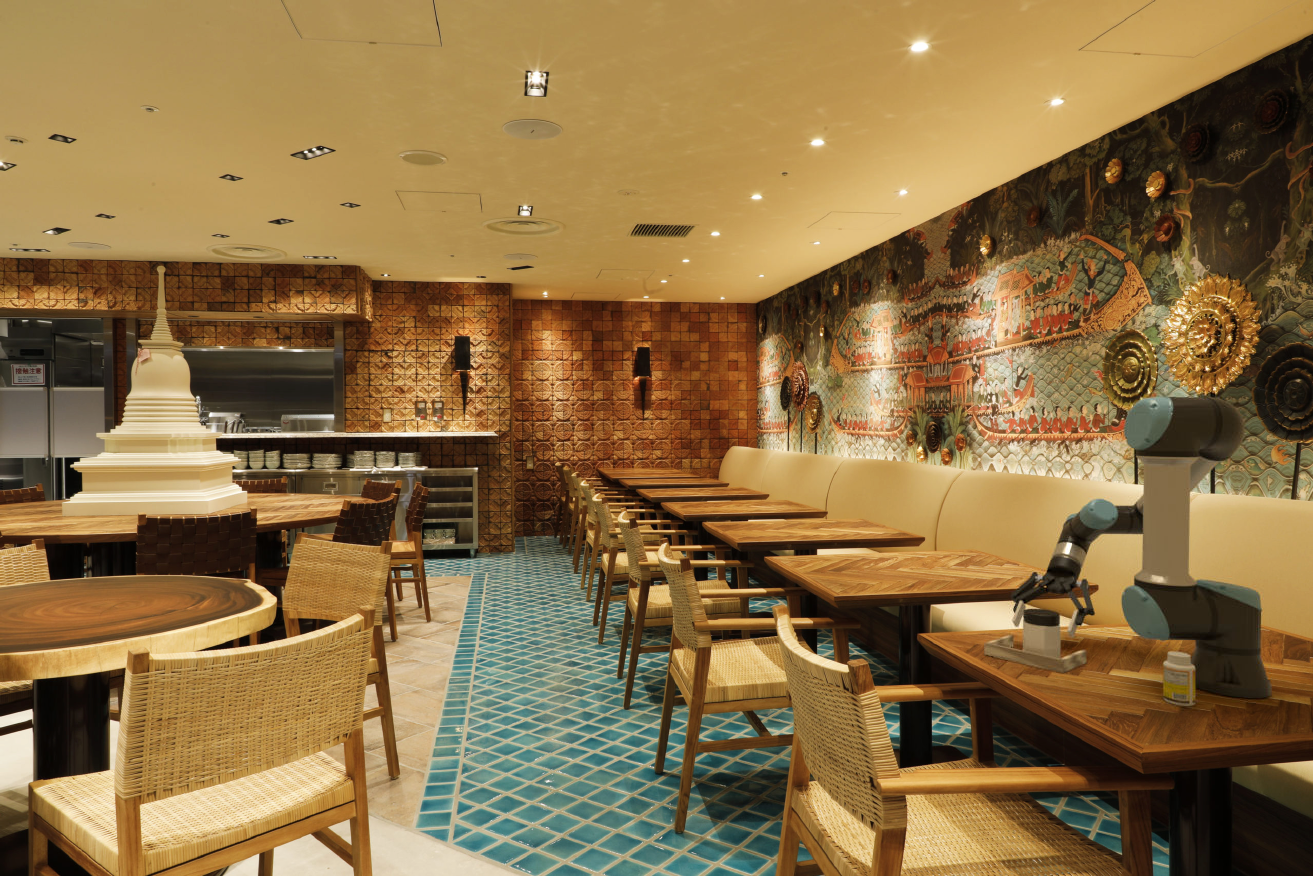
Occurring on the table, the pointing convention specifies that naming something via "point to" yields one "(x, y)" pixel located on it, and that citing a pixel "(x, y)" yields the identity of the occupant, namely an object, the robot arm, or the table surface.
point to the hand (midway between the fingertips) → (1041, 629)
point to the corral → (1032, 656)
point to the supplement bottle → (1179, 679)
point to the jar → (1041, 632)
